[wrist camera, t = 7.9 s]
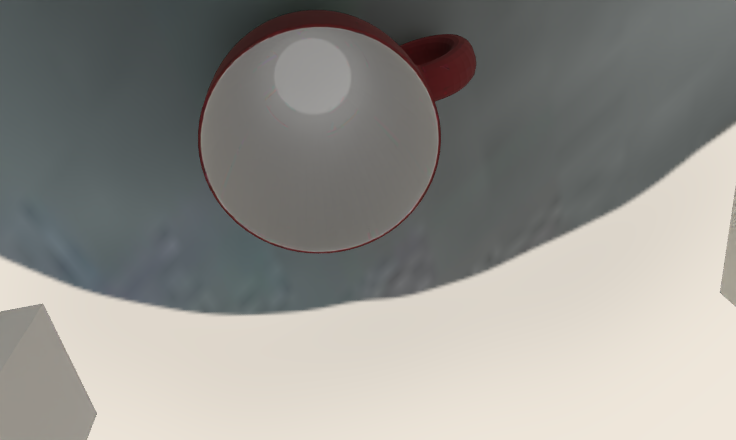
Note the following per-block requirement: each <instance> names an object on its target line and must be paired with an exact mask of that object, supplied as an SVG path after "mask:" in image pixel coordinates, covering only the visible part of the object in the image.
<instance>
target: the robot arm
mask: <svg viewBox="0 0 736 440" xmlns="http://www.w3.org/2000/svg"><path fill="white" fill-rule="evenodd" d="M720 293H721V294H722V295H723V296H724V297H726V298H727V299H728V300H729V301H730V302H731V303H732V304H733V305H735V306H736V189H735V195H734V202H733V208H732V215H731V222H730V229H729V236H728V242H727V249H726V256H725V263H724V269H723V277H722V282H721V290H720ZM96 415H97V413H96V411H95V409H94V407H93V405H92V403H91V401H90V398H89V396H88V394H87V392H86V391H85V388H84V386H83V384H82V382H81V380H80V378H79V376H78V374H77V372H76V370H75V368H74V366H73V364H72V362H71V360H70V358H69V356H68V354H67V352H66V350H65V348H64V345H63V344H62V341H61V339H60V337H59V335H58V333H57V331H56V329H55V327H54V325H53V323H52V321H51V319H50V317H49V315H48V313H47V311H46V309H45V307H44V305H43V304H39V305H33V306H28V307H23V308H17V309H12V310H7V311H1V312H0V440H87V438H88V435H89V432H90V430H91V427H92V425H93V422H94V420H95V417H96Z"/></svg>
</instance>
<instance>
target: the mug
mask: <svg viewBox="0 0 736 440" xmlns="http://www.w3.org/2000/svg"><path fill="white" fill-rule="evenodd" d="M475 69H476V57H475V54H474V51H473V48H472V46H471V44H470V43H469V42H468V41H467V40H466V39H465V38H463V37H461V36H458V35H453V34H442V35H434V36H428V37H424V38H420V39H417V40H414V41H411V42H408V43H406V44H403V45H400V46H399V45H398V44H397V43H396V42H395V41H394V40H392V39H391V38H390V37H389V36H388V35H387V34H385V33H384V32H382V31H381V30H380V29H378V28H377V27H375V26H373V25H371V24H370V23H368V22H366V21H363V20H361V19H359V18H357V17H354V16H351V15H348V14H344V13H339V12H335V11H326V10H306V11H298V12H293V13H288V14H285V15H282V16H279V17H276V18H274V19H272V20H269V21H267V22H265V23H264V24H262V25H260V26H258V27H257V28H255V29H254V30H252V31H251V32H249V33H248V34H247V35H246V36H245V37H243V38H242V39H241V40H240V41H239V42H238V43H237V44H236V45H235V46H234V47H233V48H232V49H231V51H230V52H229V53H228V55H227V56H226V57H225V59H224V60H223V61H222V63H221V65H220V66H219V68H218V70H217V71H216V73H215V76H214V78H213V80H212V82H211V84H210V87H209V89H208V92H207V95H206V98H205V101H204V104H203V107H202V111H201V116H200V120H199V129H198V148H199V157H200V161H201V166H202V170H203V173H204V176H205V179H206V181H207V183H208V185H209V188H210V190H211V191H212V193H213V195H214V197H215V198H216V200H217V201H218V203H219V204H220V205H221V207H222V208H223V209H224V210H225V212H226V213H227V214H228V215H229V216H230V217H231V218H232V219H233V220H234V221H235V222H236V223H237V224H239V225H240V226H241V227H242V228H244V229H245V230H246V231H248V232H249V233H251V234H252V235H254V236H255V237H257V238H259V239H261V240H263V241H265V242H267V243H270V244H272V245H275V246H278V247H281V248H284V249H288V250H292V251H297V252H304V253H333V252H341V251H346V250H350V249H354V248H357V247H360V246H363V245H365V244H368V243H371V242H373V241H375V240H377V239H379V238H381V237H382V236H384V235H385V234H387V233H389V232H390V231H392V230H393V229H394V228H396V227H397V226H398V225H399V224H401V223H402V222H403V221H404V220H405V219H406V218H407V217H408V216H409V215H410V214H411V213H412V212H413V211H414V209H415V208H416V207H417V206H418V204H419V203H420V202H421V200H422V199H423V197H424V195H425V194H426V192H427V190H428V188H429V186H430V184H431V182H432V180H433V177H434V175H435V171H436V168H437V165H438V160H439V155H440V145H441V130H440V121H439V116H438V112H437V107H436V104H435V101H437V100H440V99H443V98H445V97H448V96H450V95H452V94H454V93H456V92H458V91H459V90H461V89H462V88H463V87H465V86H466V85H467V84H468V83H469V81H470V80H471V78H472V77H473V76H474V73H475Z"/></svg>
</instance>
